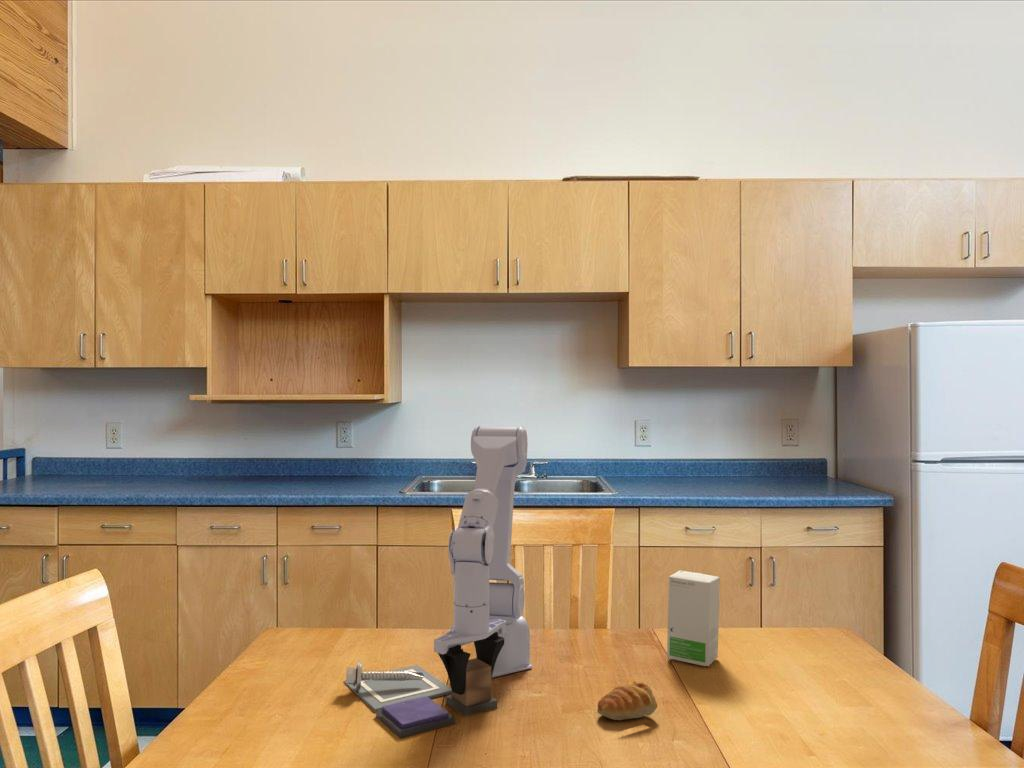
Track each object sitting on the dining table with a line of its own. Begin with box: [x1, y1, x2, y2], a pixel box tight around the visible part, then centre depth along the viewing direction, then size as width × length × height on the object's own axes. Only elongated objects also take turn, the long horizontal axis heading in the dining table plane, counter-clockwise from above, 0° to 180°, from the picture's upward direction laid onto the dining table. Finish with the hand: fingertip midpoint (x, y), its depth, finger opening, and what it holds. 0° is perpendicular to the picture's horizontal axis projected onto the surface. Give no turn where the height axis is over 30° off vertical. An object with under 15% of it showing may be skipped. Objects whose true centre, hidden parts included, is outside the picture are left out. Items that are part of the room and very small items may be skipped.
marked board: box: [343, 664, 452, 713], centre depth 130 cm, size 14×14×1 cm
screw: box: [345, 660, 424, 692], centre depth 129 cm, size 13×5×5 cm, turn 101°
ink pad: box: [375, 696, 456, 739], centre depth 118 cm, size 9×9×2 cm
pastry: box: [596, 681, 658, 721], centre depth 120 cm, size 9×7×4 cm
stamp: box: [445, 657, 498, 717], centre depth 123 cm, size 6×6×6 cm
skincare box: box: [666, 569, 721, 667], centre depth 145 cm, size 8×7×16 cm
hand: (471, 687), depth 123 cm, fingers closed on stamp, 5 cm apart
